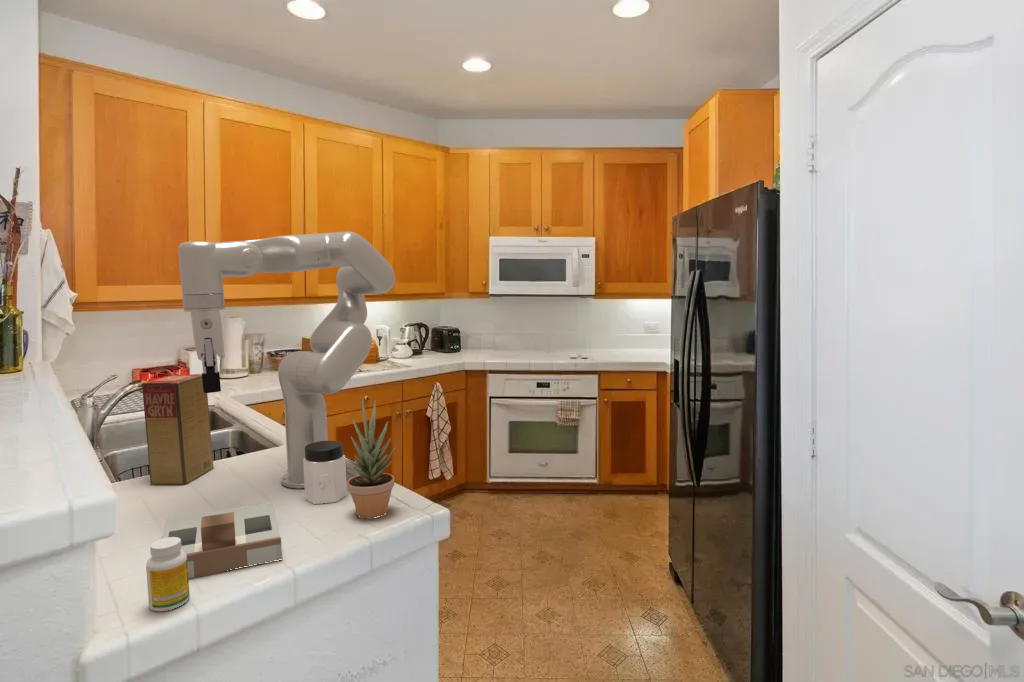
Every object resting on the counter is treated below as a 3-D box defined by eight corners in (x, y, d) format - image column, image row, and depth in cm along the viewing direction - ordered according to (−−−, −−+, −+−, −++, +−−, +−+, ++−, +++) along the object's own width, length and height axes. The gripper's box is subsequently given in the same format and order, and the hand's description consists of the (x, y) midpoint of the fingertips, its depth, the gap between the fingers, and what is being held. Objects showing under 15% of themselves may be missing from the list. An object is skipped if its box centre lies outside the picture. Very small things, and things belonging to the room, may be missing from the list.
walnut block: (235, 539, 106) (233, 511, 105) (235, 550, 101) (234, 522, 101) (203, 544, 104) (201, 517, 103) (202, 556, 99) (200, 527, 99)
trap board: (273, 516, 124) (272, 497, 123) (282, 560, 104) (280, 538, 103) (167, 533, 115) (166, 513, 115) (155, 585, 96) (153, 561, 95)
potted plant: (374, 501, 131) (370, 390, 129) (404, 510, 126) (401, 395, 123) (336, 516, 123) (331, 398, 121) (368, 527, 118) (363, 403, 115)
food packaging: (180, 468, 157) (173, 373, 154) (215, 468, 156) (209, 373, 154) (147, 485, 143) (139, 382, 141) (186, 485, 143) (178, 382, 140)
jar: (303, 506, 129) (300, 452, 128) (307, 493, 137) (304, 442, 136) (346, 502, 131) (343, 448, 130) (347, 489, 139) (345, 439, 138)
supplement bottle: (143, 605, 90) (138, 544, 89) (180, 590, 94) (175, 531, 93) (159, 616, 87) (154, 553, 86) (196, 600, 91) (192, 540, 90)
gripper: (226, 303, 116) (234, 396, 119) (223, 300, 129) (230, 383, 132) (182, 305, 113) (191, 400, 115) (183, 302, 126) (191, 387, 128)
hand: (212, 391), depth 124 cm, fingers closed
